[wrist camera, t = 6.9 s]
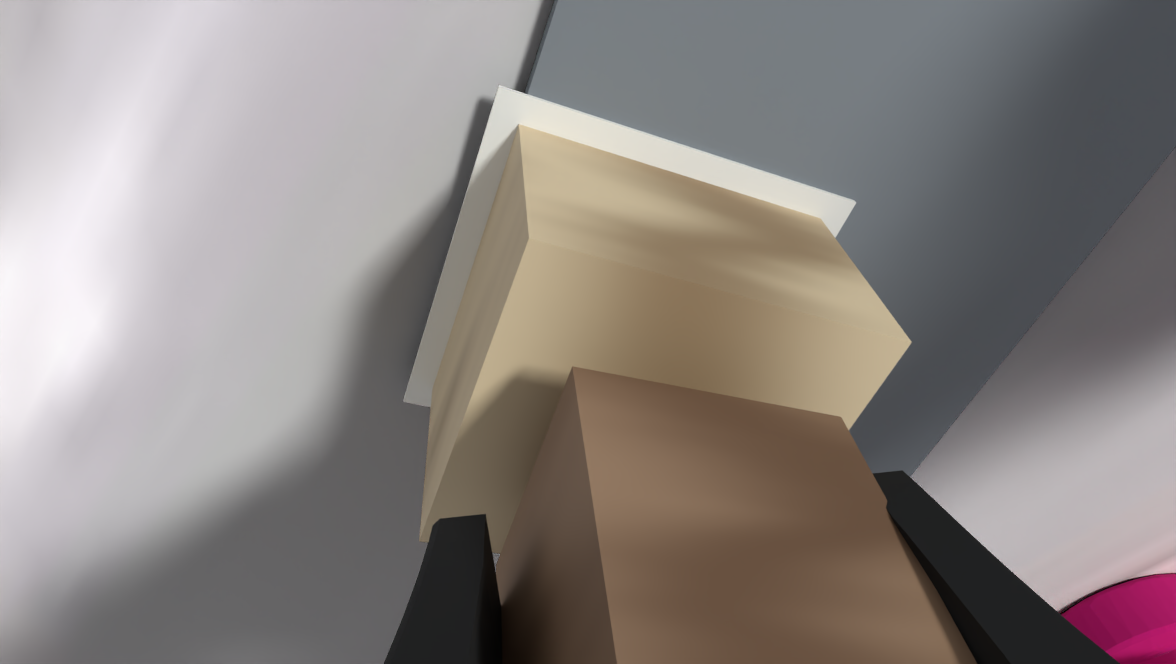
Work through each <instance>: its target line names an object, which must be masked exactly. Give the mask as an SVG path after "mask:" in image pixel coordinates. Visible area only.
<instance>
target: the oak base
mask: <svg viewBox="0 0 1176 664" xmlns="http://www.w3.org/2000/svg"><path fill="white" fill-rule="evenodd" d="M911 343H912V342H911V340H910V339H909V338H908V336H907V335H906V334H905V332H904V331H903V329H902V328H901V327H900V325H899V324H898V323H897V321H896V320H895V319H894V317H893V316H892V315H891V313H890V312H889V310H888V309H887V308H886V306H885V305H884V304H883V302H882V301H881V300H880V298H879V297H878V296H877V294H876V293H875V291H874V290H873V289H872V287H871V286H870V285H869V283H868V282H867V281H866V279H865V278H864V277H863V275H862V274H861V272H860V271H859V270H858V268H857V267H856V266H855V264H854V263H853V262H852V260H851V259H850V258H849V256H848V255H847V253H846V252H845V251H844V249H843V248H842V247H841V245H840V244H839V243H838V241H837V240H836V239H835V237H834V236H833V234H832V233H831V232H830V230H829V229H828V228H827V226H826V225H825V224H824V222H823V221H822V220H821V218H818V217H815V216H811V215H808V214H805V213H802V212H799V211H795V210H792V209H789V208H786V207H783V206H779V205H776V204H773V203H770V202H767V201H763V200H760V199H757V198H754V197H751V196H747V195H744V194H741V193H738V192H735V191H731V190H728V189H725V188H722V187H719V186H715V185H712V184H709V183H706V182H703V181H699V180H696V179H693V178H690V177H687V176H683V175H680V174H677V173H674V172H671V171H667V170H664V169H661V168H658V167H655V166H651V165H648V164H645V163H642V162H639V161H635V160H632V159H629V158H626V157H623V156H619V155H616V154H613V153H610V152H607V151H603V150H600V149H597V148H594V147H591V146H587V145H584V144H581V143H578V142H575V141H572V140H568V139H565V138H562V137H559V136H556V135H552V134H549V133H546V132H543V131H540V130H536V129H533V128H530V127H527V126H524V125H520V124H519V125H518V128H517V131H516V134H515V137H514V140H513V143H512V146H511V149H510V153H509V156H508V159H507V162H506V165H505V168H504V171H503V174H502V177H501V180H500V183H499V186H498V189H497V192H496V195H495V199H494V202H493V205H492V208H491V211H490V214H489V217H488V220H487V223H486V226H485V229H484V232H483V235H482V238H481V241H480V245H479V248H478V251H477V254H476V257H475V260H474V263H473V266H472V269H471V272H470V275H469V278H468V281H467V284H466V287H465V291H464V294H463V297H462V300H461V303H460V306H459V309H458V312H457V315H456V318H455V321H454V324H453V327H452V330H451V333H450V336H449V340H448V343H447V346H446V349H445V352H444V355H443V358H442V361H441V364H440V367H439V370H438V373H437V376H436V379H435V382H434V386H433V389H432V399H431V410H430V422H429V433H428V445H427V456H426V468H425V479H424V491H423V502H422V513H421V525H420V536H419V541H421V542H427V543H428V542H429V538H430V534H431V530H432V526H433V525H434V524H435V523H436V522H437V521H438V520H439V519H440V518H450V517H460V516H469V515H479V514H486V518H487V524H488V530H489V536H490V542H491V548H492V552H493V553H499V554H501V551H502V548H503V546H504V543H505V541H506V538H507V535H508V533H509V530H510V528H511V525H512V522H513V520H514V517H515V514H516V512H517V509H518V507H519V504H520V501H521V499H522V496H523V494H524V491H525V488H526V486H527V483H528V481H529V478H530V475H531V473H532V470H533V467H534V465H535V462H536V460H537V457H538V454H539V452H540V449H541V447H542V444H543V441H544V439H545V436H546V434H547V431H548V428H549V426H550V423H551V420H552V418H553V415H554V413H555V410H556V407H557V405H558V402H559V400H560V397H561V394H562V392H563V389H564V387H565V384H566V381H567V379H568V376H569V373H570V371H571V368H572V366H574V367H579V368H584V369H589V370H595V371H600V372H605V373H611V374H616V375H621V376H627V377H632V378H637V379H643V380H648V381H653V382H659V383H664V384H669V385H675V386H680V387H685V388H691V389H696V390H701V391H706V392H712V393H717V394H722V395H728V396H733V397H738V398H744V399H749V400H754V401H760V402H765V403H770V404H776V405H781V406H786V407H792V408H797V409H802V410H808V411H813V412H818V413H824V414H829V415H834V416H839V417H841V418H842V419H843V421H844V423H845V425H846V427H847V428H848V430H849V429H850V428H851V427H852V425H853V424H854V422H855V421H856V420H857V418H858V417H859V415H860V414H861V413H862V411H863V410H864V408H865V407H866V406H867V404H868V403H869V401H870V400H871V399H872V397H873V396H874V394H875V393H876V392H877V390H878V389H879V388H880V386H881V385H882V383H883V382H884V381H885V379H886V378H887V376H888V375H889V374H890V372H891V371H892V369H893V368H894V367H895V365H896V364H897V362H898V361H899V360H900V358H901V357H902V355H903V354H904V353H905V351H906V350H907V348H908V347H909V346H910V344H911Z"/></svg>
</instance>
